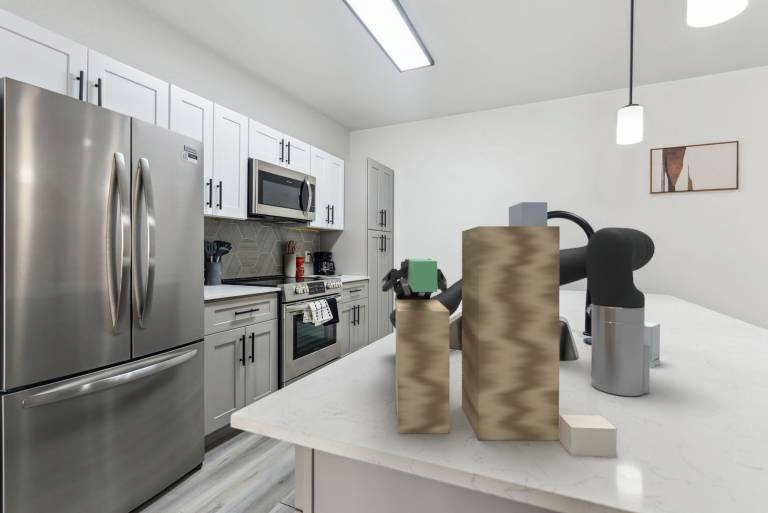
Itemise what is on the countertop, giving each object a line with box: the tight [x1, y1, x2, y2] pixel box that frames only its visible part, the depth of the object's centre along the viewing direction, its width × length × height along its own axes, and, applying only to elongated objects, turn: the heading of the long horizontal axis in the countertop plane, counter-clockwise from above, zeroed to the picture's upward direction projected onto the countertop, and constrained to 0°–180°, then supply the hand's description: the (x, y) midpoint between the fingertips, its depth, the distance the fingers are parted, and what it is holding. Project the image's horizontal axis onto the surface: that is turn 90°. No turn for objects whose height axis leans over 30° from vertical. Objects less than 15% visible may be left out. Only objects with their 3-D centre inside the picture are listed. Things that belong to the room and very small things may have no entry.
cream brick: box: [558, 413, 618, 458], centre depth 52 cm, size 6×4×4 cm, turn 86°
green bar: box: [407, 258, 438, 293], centre depth 63 cm, size 4×20×4 cm, turn 0°
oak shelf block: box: [461, 225, 561, 441], centre depth 60 cm, size 12×12×32 cm
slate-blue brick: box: [508, 201, 548, 226], centre depth 60 cm, size 4×6×4 cm, turn 0°
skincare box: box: [644, 320, 661, 369], centre depth 94 cm, size 10×6×10 cm, turn 36°
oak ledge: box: [395, 300, 451, 434], centre depth 63 cm, size 8×14×19 cm, turn 0°
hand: (417, 263), depth 65 cm, fingers closed on green bar, 3 cm apart
